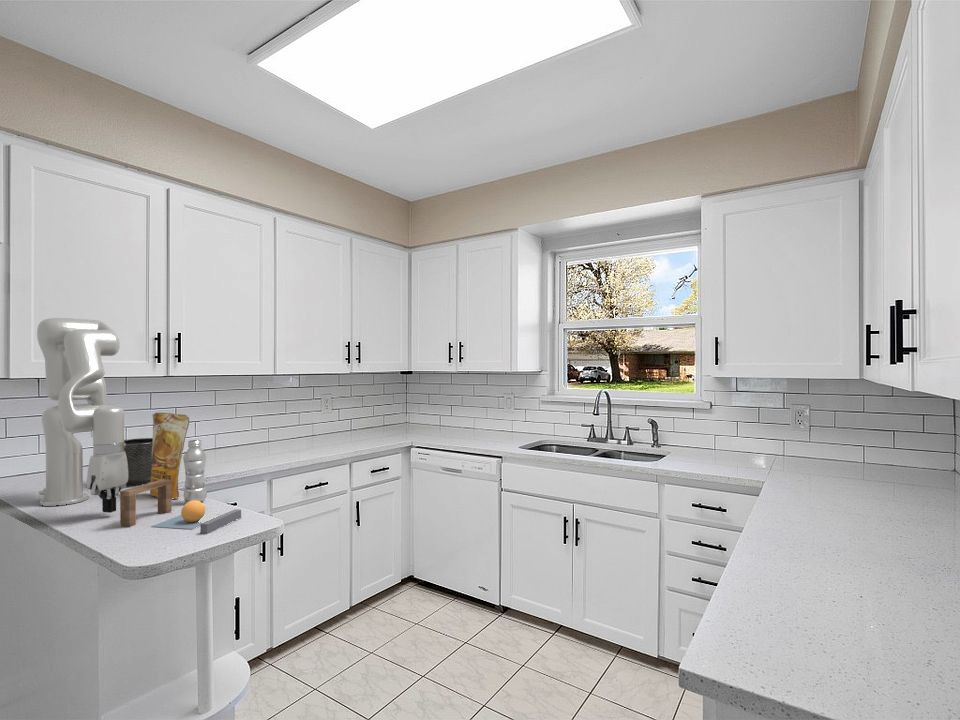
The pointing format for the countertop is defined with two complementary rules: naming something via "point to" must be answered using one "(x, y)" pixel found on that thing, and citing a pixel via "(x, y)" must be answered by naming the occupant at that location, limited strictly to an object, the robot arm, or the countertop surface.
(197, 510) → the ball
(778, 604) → the countertop surface
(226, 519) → the stopper
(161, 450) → the pancake mix bag
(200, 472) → the plastic bottle
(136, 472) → the planter
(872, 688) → the countertop surface
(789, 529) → the countertop surface
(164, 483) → the bridge
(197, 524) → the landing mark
